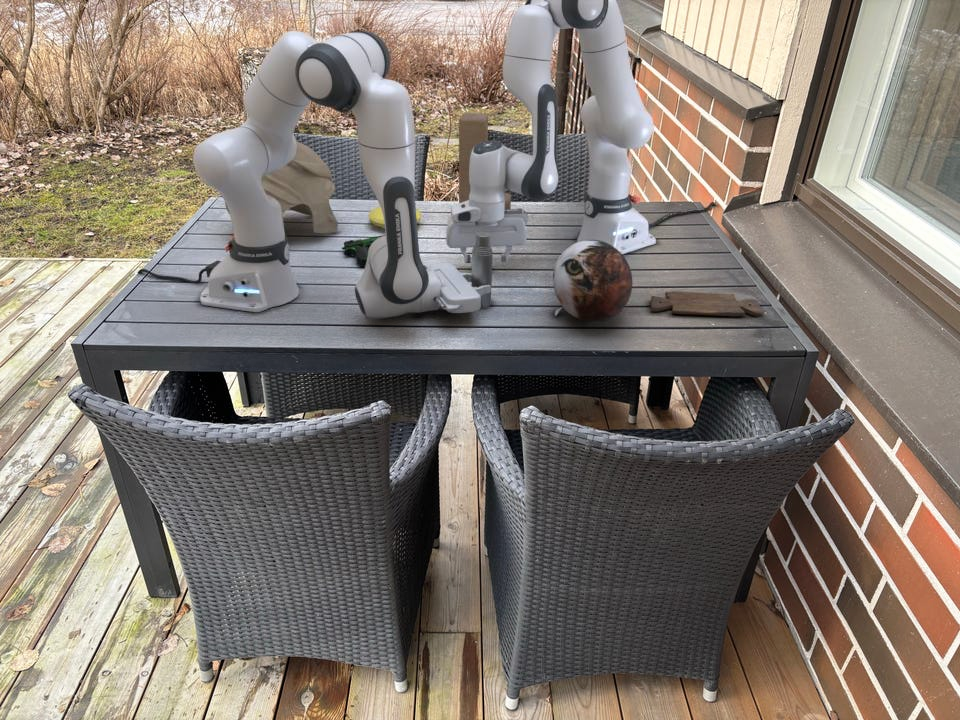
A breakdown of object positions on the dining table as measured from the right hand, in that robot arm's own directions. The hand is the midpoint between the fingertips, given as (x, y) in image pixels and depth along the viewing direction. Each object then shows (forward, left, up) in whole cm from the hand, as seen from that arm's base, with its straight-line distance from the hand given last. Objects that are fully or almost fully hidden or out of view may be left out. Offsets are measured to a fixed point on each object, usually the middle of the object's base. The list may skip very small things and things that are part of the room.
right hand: (485, 261), depth 183 cm
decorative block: (-18, -35, -2) cm, 39 cm away
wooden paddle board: (-37, +41, -2) cm, 55 cm away
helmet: (+40, -48, -2) cm, 63 cm away
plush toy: (-10, +33, -2) cm, 34 cm away
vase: (+9, -41, -2) cm, 42 cm away
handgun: (+22, -22, -2) cm, 32 cm away
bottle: (+10, +17, -2) cm, 20 cm away
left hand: (+9, +17, +3) cm, 19 cm away
